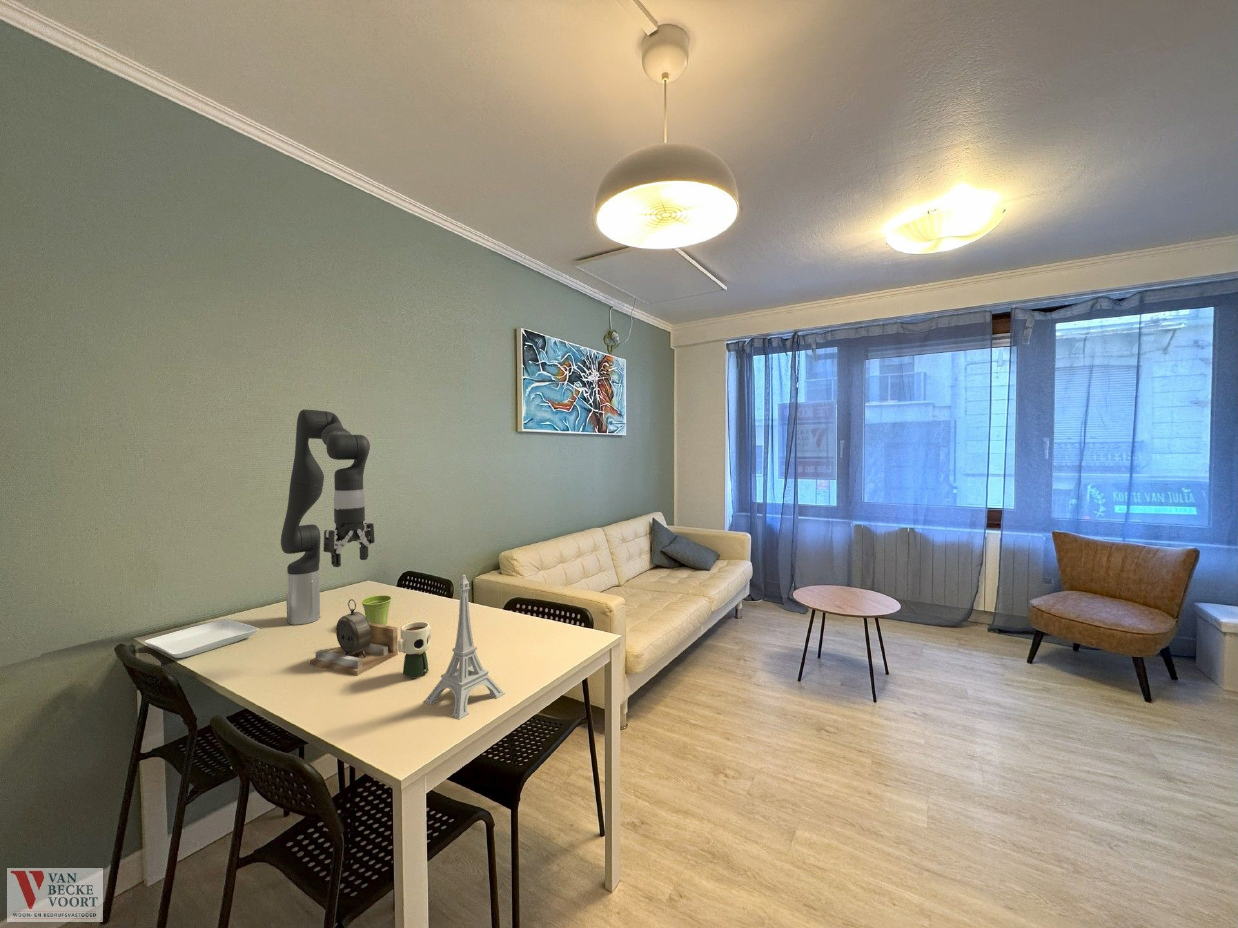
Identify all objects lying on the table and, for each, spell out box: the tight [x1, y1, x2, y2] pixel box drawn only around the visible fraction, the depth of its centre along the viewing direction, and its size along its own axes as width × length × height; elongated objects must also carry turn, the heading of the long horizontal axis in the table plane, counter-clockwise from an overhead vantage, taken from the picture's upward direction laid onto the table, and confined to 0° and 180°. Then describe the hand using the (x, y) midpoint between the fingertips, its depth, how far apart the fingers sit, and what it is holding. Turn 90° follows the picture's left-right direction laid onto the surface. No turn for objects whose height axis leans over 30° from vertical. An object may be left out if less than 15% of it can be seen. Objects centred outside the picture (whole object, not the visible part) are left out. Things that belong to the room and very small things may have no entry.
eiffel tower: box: [423, 574, 506, 720], centre depth 114 cm, size 13×13×30 cm
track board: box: [309, 623, 399, 676], centre depth 135 cm, size 18×14×8 cm
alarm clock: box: [335, 598, 372, 658], centre depth 134 cm, size 11×5×16 cm, turn 59°
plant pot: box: [360, 594, 393, 625], centre depth 161 cm, size 9×9×9 cm
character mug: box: [398, 621, 432, 679], centre depth 126 cm, size 11×7×13 cm, turn 157°
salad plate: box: [143, 618, 260, 659], centre depth 146 cm, size 21×21×3 cm
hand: (350, 563), depth 133 cm, fingers open, 8 cm apart
